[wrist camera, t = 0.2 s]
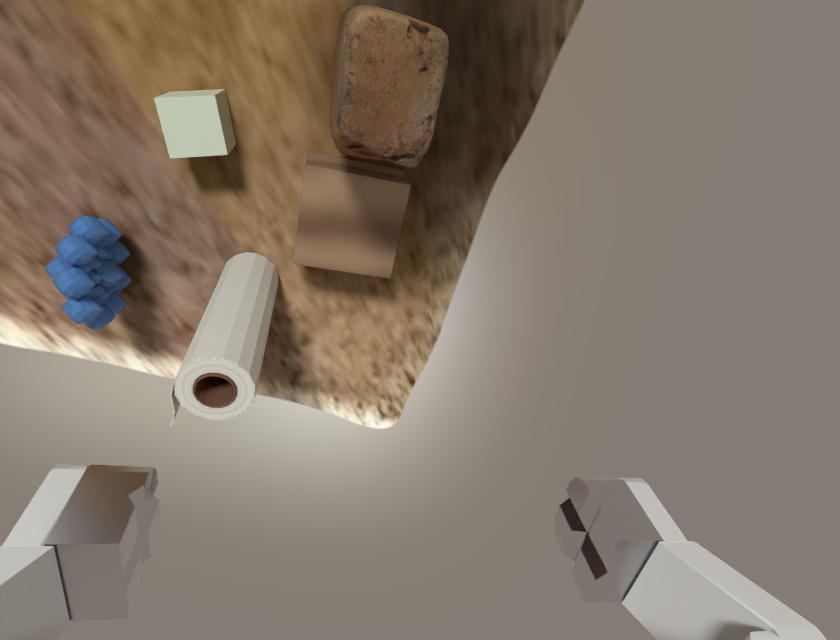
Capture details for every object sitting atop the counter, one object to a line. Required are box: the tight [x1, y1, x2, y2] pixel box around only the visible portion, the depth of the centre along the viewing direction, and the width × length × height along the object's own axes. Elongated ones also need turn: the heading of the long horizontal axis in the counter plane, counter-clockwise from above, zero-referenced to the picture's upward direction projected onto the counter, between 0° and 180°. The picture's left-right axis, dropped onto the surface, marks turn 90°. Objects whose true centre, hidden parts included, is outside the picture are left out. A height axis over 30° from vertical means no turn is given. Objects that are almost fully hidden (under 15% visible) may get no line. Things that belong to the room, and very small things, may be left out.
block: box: [330, 5, 449, 168], centre depth 41 cm, size 11×8×20 cm
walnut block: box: [293, 151, 411, 278], centre depth 53 cm, size 10×10×6 cm
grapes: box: [45, 215, 132, 330], centre depth 49 cm, size 12×7×12 cm, turn 170°
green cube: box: [154, 89, 236, 158], centre depth 47 cm, size 5×5×5 cm
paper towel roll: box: [170, 252, 278, 426], centre depth 48 cm, size 7×6×21 cm
